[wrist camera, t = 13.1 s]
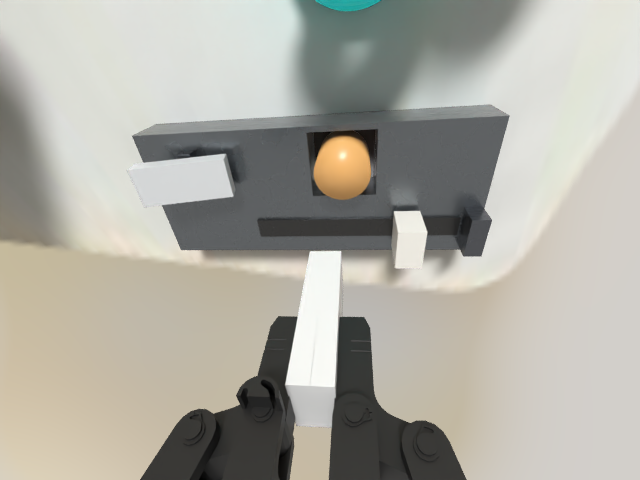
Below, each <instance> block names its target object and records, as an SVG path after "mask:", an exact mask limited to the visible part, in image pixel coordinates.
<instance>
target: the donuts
mask: <svg viewBox="0 0 640 480" xmlns="http://www.w3.org/2000/svg"><path fill="white" fill-rule="evenodd" d="M315 1H316V2H318V3H320V4H321V5H323V6H325V7H328V8H330V9H334V10H338V11H357V10H361V9H365V8H368V7H370V6H372V5H374V4H376V3H378V2H379V1H381V0H315Z"/></svg>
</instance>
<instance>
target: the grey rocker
mask: <svg viewBox="0 0 640 480" xmlns="http://www.w3.org/2000/svg"><path fill="white" fill-rule="evenodd" d="M127 172H128V174H129V176H130V178H131V180H132V183H133V185H134V187H135V189H136V191H137V193H138V195H139V197H140V200H141V202H142V204H143V206H144V207H151V206H159V205H168V204H176V203H185V202H193V201H202V200H210V199H218V198H227V197H234V193H235V190H236V189H235V186H234V182H233V178H232V174H231V170H230V167H229V163H228V159H227V155H226V154H218V155H209V156H200V157H191V158H182V159H173V160H164V161H156V162H147V163H138V164H133V165H132V166H131V167H130V168H129V169H128V170H127Z"/></svg>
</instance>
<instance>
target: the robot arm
mask: <svg viewBox="0 0 640 480" xmlns="http://www.w3.org/2000/svg"><path fill="white" fill-rule="evenodd" d="M342 309H343V278H342V256H341V251H310V254H309V259H308V265H307V270H306V275H305V281H304V286H303V292H302V297H301V303H300V308H299V313H298V317H281V316H278V318H277V319H276V320H275V322H274V323H273V324H272V325H271V327H270V331H269V335H268V340H267V342H266V346H265V350H264V353H263V357H262V361H261V365H260V368H259V372H258V376H256V377H253V378H251V379H249V380H247V381H246V382H245V383H244V384H243V385H242V386H241V387H240V389H239V391H238V393H237V395H236V396H237V398H238V401H239V403H240V405H238V406H236V407H234V408H231V409H228V410H225V411H221V412H218V413H215V414H213V413H211V412H210V411H208V410H206V409H197V410H194V411H191V412H190V413H188V414H187V415H185V416H184V417H183V418H182V419H181V420H180V421H179V422H178V423H177V425H176V426H175V427H174V429H173V430H172V432H171V434H170V435H169V437H168V438H167V440H166V441H165V443H164V444H163V446H162V447H161V449H160V450H159V452H158V453H157V455H156V456H155V458H154V459H153V461H152V463H151V464H150V465H149V467H148V469H147V470H146V472H145V473H144V475H143V476H142V478H141V479H140V480H289V479H290V472H291V465H292V457H293V450H294V437H293V430H294V423H296V426H309V427H326V428H332V432H331V450H330V470H329V480H466V478H465V475H464V473H463V471H462V469H461V466H460V464H459V462H458V460H457V458H456V455H455V453H454V451H453V449H452V446H451V444H450V442H449V440H448V439H447V437H446V435H445V434H444V432H443V431H442V430H441V429H439V428H438V427H437V426H436V425H435V424H432V423H429V422H427V421H415V422H412V423H408V422H406V421H403V420H401V419H399V418H396V417H394V416H392V415H390V414H388V413H387V412H386V411H384V409H382V408H381V406H380V405H379V404H378V402H377V400H376V397H375V394H374V386H373V370H372V353H371V336H370V327H369V325H368V323H367V321H366V320H365V318H364V317H342Z"/></svg>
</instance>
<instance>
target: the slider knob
mask: <svg viewBox="0 0 640 480" xmlns="http://www.w3.org/2000/svg"><path fill="white" fill-rule="evenodd" d="M426 238H427V229H426V227H425V224H424V221H423V218H422V215H421V212H420V211H394V216H393V229H392V242H391V247H392V253H393V259H394V265H395V268H413V269H422V264H423V258H424V251H425V245H426Z"/></svg>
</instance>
